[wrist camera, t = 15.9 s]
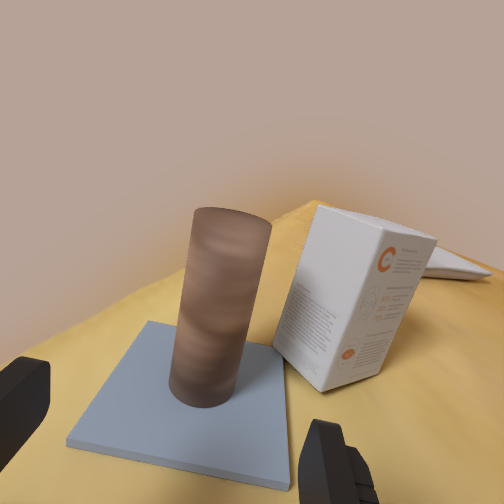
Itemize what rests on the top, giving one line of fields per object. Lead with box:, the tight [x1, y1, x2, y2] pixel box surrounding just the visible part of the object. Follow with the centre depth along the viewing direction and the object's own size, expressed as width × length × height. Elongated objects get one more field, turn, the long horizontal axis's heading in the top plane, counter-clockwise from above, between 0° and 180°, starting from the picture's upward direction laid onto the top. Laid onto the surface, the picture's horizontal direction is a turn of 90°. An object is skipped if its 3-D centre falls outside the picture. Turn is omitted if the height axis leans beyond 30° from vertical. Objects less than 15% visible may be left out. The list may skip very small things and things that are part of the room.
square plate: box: [422, 246, 493, 280], centre depth 70 cm, size 27×27×4 cm
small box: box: [272, 205, 438, 392], centre depth 27 cm, size 8×6×13 cm
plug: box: [169, 207, 272, 408], centre depth 21 cm, size 5×5×12 cm
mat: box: [66, 320, 290, 492], centre depth 23 cm, size 12×12×1 cm
